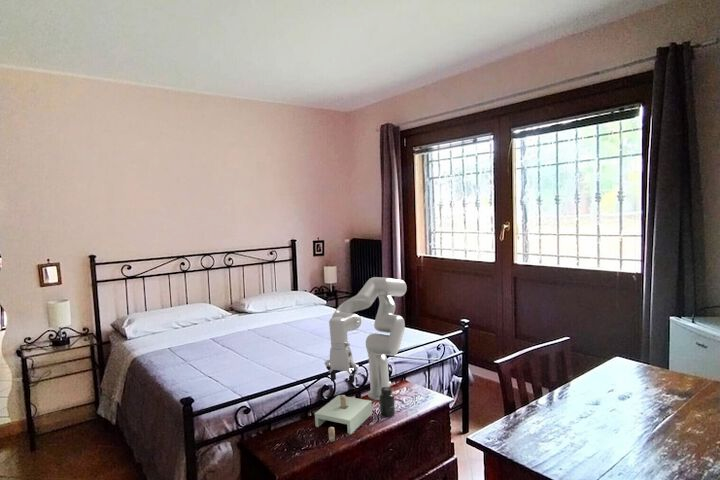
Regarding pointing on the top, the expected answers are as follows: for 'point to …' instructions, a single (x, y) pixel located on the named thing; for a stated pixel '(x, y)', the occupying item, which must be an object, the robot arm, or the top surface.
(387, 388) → the supplement bottle
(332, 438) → the short birch pin
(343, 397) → the long birch pin
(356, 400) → the plate
